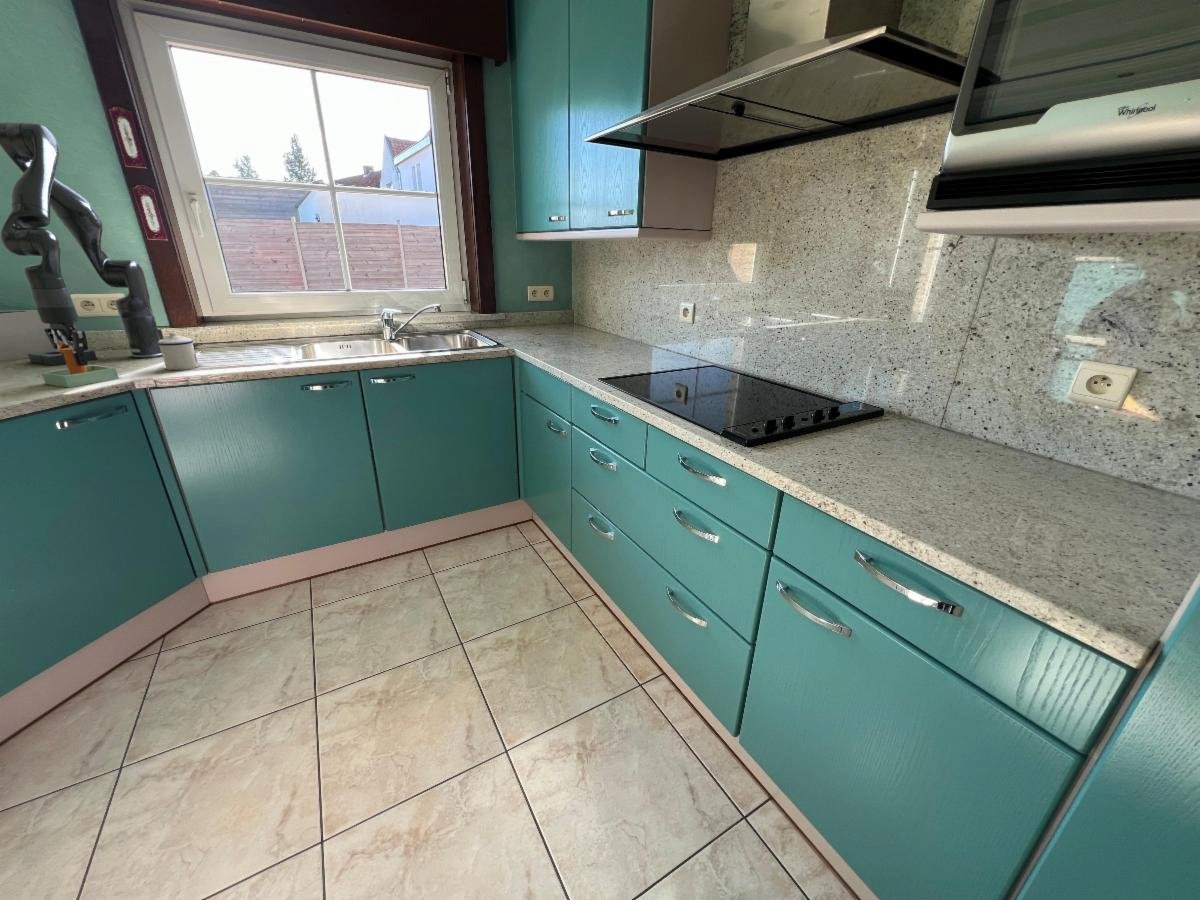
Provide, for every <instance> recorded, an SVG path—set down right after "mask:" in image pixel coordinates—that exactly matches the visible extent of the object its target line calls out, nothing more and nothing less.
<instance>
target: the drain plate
mask: <svg viewBox="0 0 1200 900" xmlns="http://www.w3.org/2000/svg"><path fill="white" fill-rule="evenodd" d="M84 355H85V357H86V360H87V362H88V361H93V360H98V357H97V355H96V351H95V350H91V349H88V350H86V351H85V352H84ZM27 356H28V358H29V361H30V363H33V364H39V365H47V366H60V365H67V364H66V363H65V361H64V359H63V356H62V353H60V352H59V350H58V349H53V350H52V349H51V350H46V351H45V350H44V351H35V352H30V353H27Z"/></svg>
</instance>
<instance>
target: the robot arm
mask: <svg viewBox="0 0 1200 900" xmlns="http://www.w3.org/2000/svg"><path fill="white" fill-rule="evenodd" d="M0 148H1V149H2V150H3V152H4V153H5V154H6V155H7V157H8V158H9V159H10V160H11V161H12V162H13V164H14V165H15V166H16V167H17V168H18V169H19V170H20V172H22V173H23V174H21V175H20V177H19V178H18V179H17V180H16V181H15V182H14V184H13V185H12V188H11V191H10V212H9V213H8V215H7V217H6V219H5V221H4V223H3V226H2V227H1V230H0V241H1V245H2V247H4V248H5V249H6V250H7V251H8V252H9V253H11V254H12V255H16V256H22V257H41V261H40V263H38V264H32V265H28V266H27V265H26V266H25V267H23V274H24V276H25V280H26V282H27V285H28V287H29V291H30V294H31V295H30V296H31V298H32V301H33V304H34V306H35V309H36V311H37V314H38V316H39V319H40V322H41V323H43V324H49V327H47V328H44V329H43V330H44V333H45V335H46V337H47V338H48V340H49V342H50V343H51V345H52V347H53V350H59V349H63V348H70V349H71V351H72V352H73V356H74V358H75V361H76V364H77V365H78V366H84V365H85V366H88V364H89V363H88V361H87V360H86V357H85V355H84V352H85V351H86V350H89V345H88V340H87V335H86V331H85V330H78V328H77V326H76V325H75V323H78V322H79V321H80V319H79V316H78V312H77V310H76V307H75V305H74V302H73V299H72V297H71V295H70V293H69V290H68V288H67V286H66V282H65V280H64V277H63V275H62V268H61V252H62V251H61V249H62V248H61V243H60V240H59V238H58V237H57V236H56V235H55V233H53V232H52V231H50V230H49V229H46V227H48V226H50V224H51V210H52V212H53V213H54V214H55V216H56V217H57V218H58V220H59V221H60V222H61V224H62V226H63V227H65V229H66V230H67V231H68V233H69V234H70V235H71V236H72V238H73V239H74V241H75V242H76V243H77V244H78V246H79V248H80V249H81V250H82V252H83V253H84V255H85V256H86V258H87V259H88V261H89V262H90V265H91V266H92V267H93V269H94V271H95V273H96V274H97V276H98V277H99V278H100V280H101V281H102V282H103V283H104V284H105V285H107V286H108V287H110V288H118V289H119V288H121V289H122V288H124V289H128V292H127V295H126V294H125V296H123V297H120V298H117V299H115V300H114V304H115V307H116V310H117V313H118V316H119V319H120V322H121V325H122V328H123V332H124V334H125V338H126V340H127V343H128V346H129V350H130V353H131V357H132V358H136V359H144V358H146V359H147V358H157V357H163V356H162V353H161V349H160V346H159V344H158V341H159V340H162V339H164V338H165V337H164V334H163V332H162V328H160V327H158V325H157V324H158V323H157V321H156V317H155V315H154V311H153V308H152V305H151V295H150V292H149V288H148V284H147V278H146V275H145V272H144V269H143V268H142V266H141V265H140V264H139V263H138V262H137V261H136V260H132V259H111V257H109V256H108V254H107V253H106V252H105V250H104V248H103V245H102V242H103V241H102V240H103V233H104V224H103V221H102V219H101V218H100V216H99V215H98V213H97V212H96V210H95V209H94V207H93V205H92V204H91V203H90V202H89V201H88V200H87V199H86V198H85V197H84V196H83V195H81V193H78V191H75V190H74V189H72V188H71V187H70V186H68V185H67V184H65V183H63V182H62V181H60V180H59V179H57V178H56V175H57V169H58V166H59V161H60V157H61V156H60V155H61V154H60V153H61V152H60V145H59V143H58V140H57V139H56V137H55V136H54V134H53V133H52V131H51V130H50V129H48V128H47V127H46V126H44V125H43V124H40V123H35V122H20V121H19V122H18V121H0ZM195 343H196V344H194V343H193V344H194V345H193V346H194V347H197V346H198V345H199V342H195ZM62 356H63V359H64V361H65V363H66V360H65V357H64V354H63V353H62ZM65 365H67V363H66V364H65Z"/></svg>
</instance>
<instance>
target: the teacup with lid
mask: <svg viewBox="0 0 1200 900" xmlns="http://www.w3.org/2000/svg"><path fill="white" fill-rule="evenodd" d="M168 334H169V335H166V337H164V339H162V340H159V341H158V344H159V346H160V349H161V353H162V356H161V357H162V359H163V361H164V362H163V363H164V365H165V368H166V369H167V370H169V371H181V370H190V369H195V368H198V367H199V365H200V364H199V361H198V358H197V354H196V350H195V348H194V347H195V346H193V344H194V340H193V339H192V338H191V337H190V338H189V337H185V336H183V335H179V334H178V333H177V332H174V331H172V332H171V331H170V332H169V333H168Z"/></svg>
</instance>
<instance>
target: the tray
mask: <svg viewBox="0 0 1200 900" xmlns="http://www.w3.org/2000/svg"><path fill="white" fill-rule="evenodd" d="M85 367H86V370H87V372H85V373H79V374H73V375H70V372H69V369H68V368H63V369H58V370H52V371H51V370H50V371H45V372H41V374H42V378H43V380H44V383H45V385H49V386H50V385H51V386H57V387H62V388H74V387H79V386H84V385H91V384H95V383H102V382H107V381H113V380H118V379H119V375H118V372H117V370H116V368H115V367H111V366H106V365H97V364H90V365H85Z"/></svg>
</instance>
